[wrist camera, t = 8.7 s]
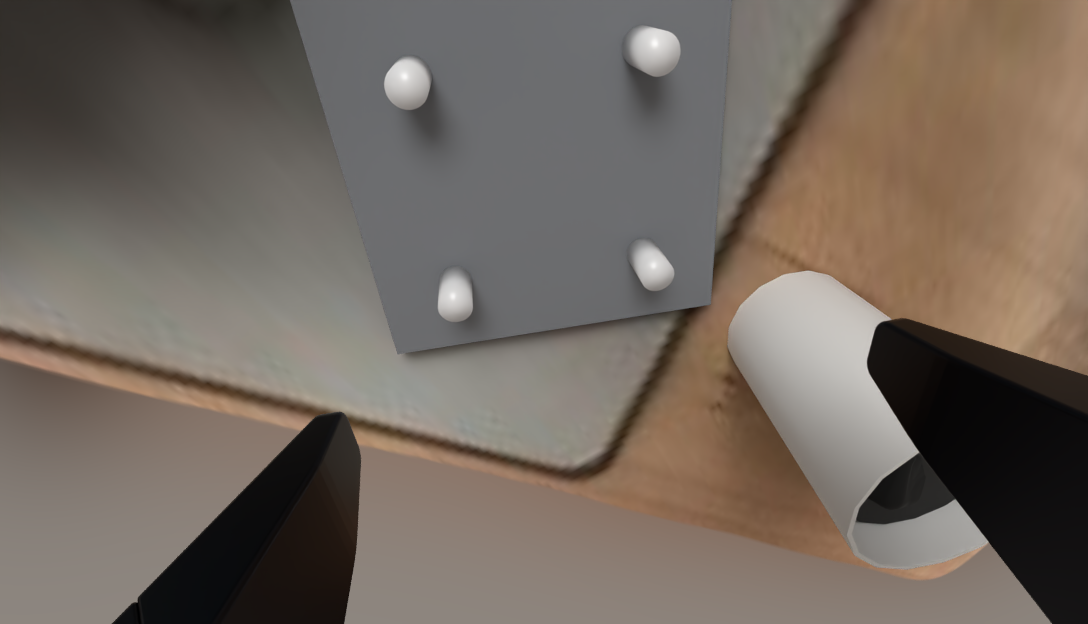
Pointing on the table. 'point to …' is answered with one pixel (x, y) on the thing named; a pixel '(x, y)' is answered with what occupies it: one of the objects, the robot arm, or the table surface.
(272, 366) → the table surface
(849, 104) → the table surface
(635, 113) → the pin tray
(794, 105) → the table surface
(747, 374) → the white cup
